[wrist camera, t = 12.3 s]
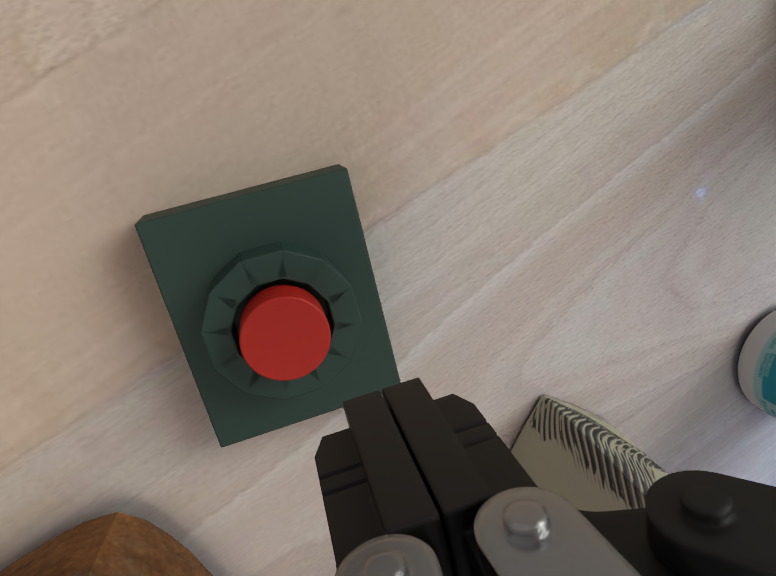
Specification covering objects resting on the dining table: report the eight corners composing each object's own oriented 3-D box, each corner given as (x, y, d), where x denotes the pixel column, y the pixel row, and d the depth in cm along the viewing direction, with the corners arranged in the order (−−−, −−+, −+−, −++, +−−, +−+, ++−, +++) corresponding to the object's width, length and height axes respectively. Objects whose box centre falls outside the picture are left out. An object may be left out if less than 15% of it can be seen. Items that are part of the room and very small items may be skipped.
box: (605, 416, 34) (799, 577, 22) (570, 477, 35) (739, 664, 23) (537, 389, 33) (707, 548, 21) (501, 454, 33) (646, 643, 21)
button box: (142, 215, 25) (125, 232, 21) (338, 163, 26) (354, 171, 23) (222, 424, 29) (219, 470, 25) (391, 369, 30) (412, 405, 26)
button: (228, 298, 23) (226, 312, 22) (312, 273, 24) (317, 285, 22) (254, 375, 25) (255, 393, 23) (334, 349, 25) (341, 365, 23)
